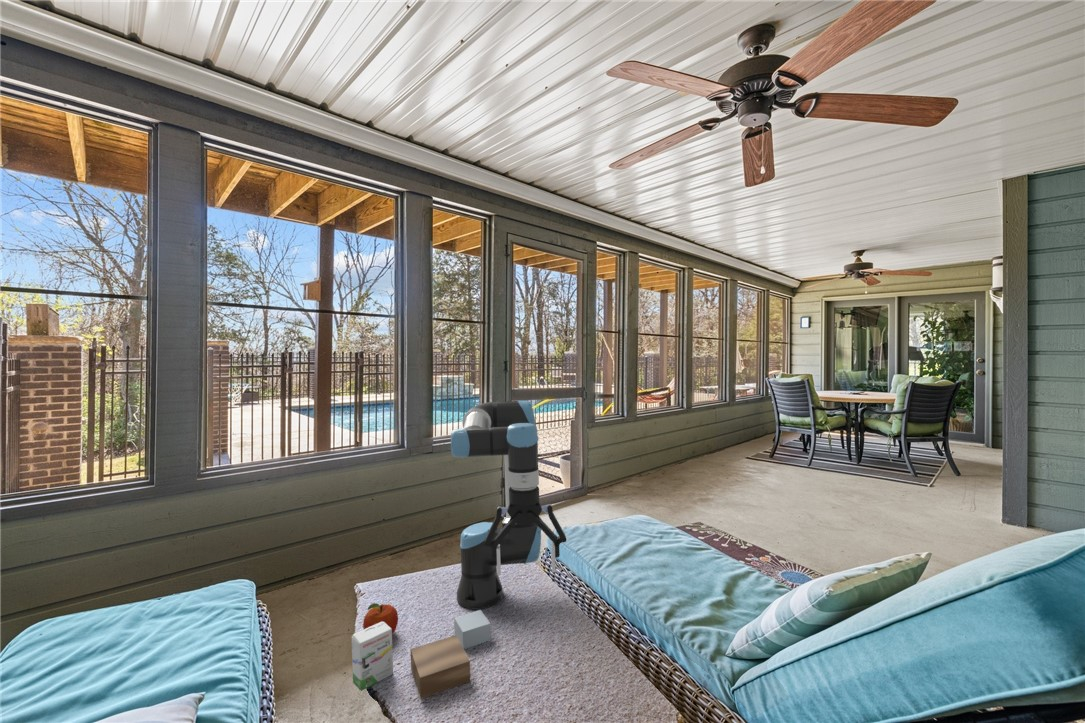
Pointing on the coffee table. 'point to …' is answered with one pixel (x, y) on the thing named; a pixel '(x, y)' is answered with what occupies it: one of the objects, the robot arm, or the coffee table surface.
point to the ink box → (372, 655)
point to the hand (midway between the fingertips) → (526, 571)
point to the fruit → (381, 616)
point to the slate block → (472, 629)
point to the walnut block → (439, 666)
